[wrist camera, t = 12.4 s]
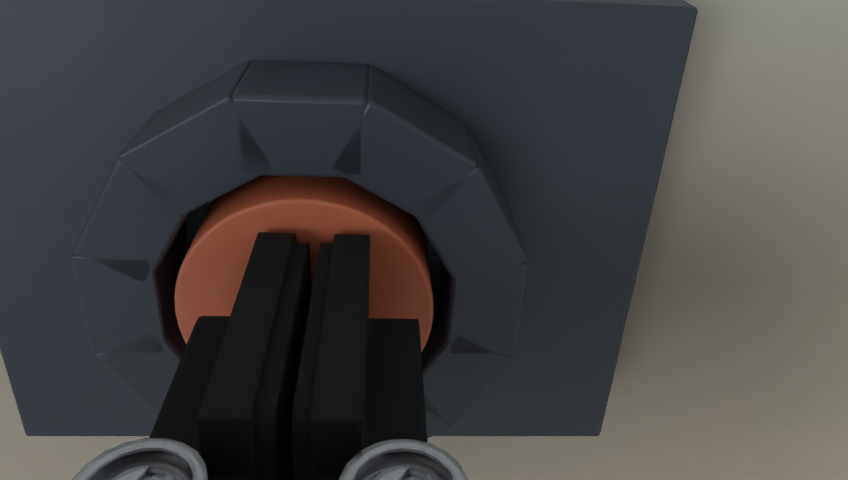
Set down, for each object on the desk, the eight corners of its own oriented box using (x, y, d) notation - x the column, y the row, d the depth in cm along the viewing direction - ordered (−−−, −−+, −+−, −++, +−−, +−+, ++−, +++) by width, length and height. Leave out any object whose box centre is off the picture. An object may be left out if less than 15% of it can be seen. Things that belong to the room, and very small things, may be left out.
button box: (58, 382, 16) (-19, 509, 13) (-52, -45, 12) (-207, -5, 9) (581, 384, 17) (625, 504, 14) (662, -12, 12) (753, 34, 9)
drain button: (210, 346, 13) (188, 412, 12) (187, 148, 11) (157, 196, 10) (421, 349, 14) (426, 412, 12) (433, 156, 12) (441, 202, 10)
